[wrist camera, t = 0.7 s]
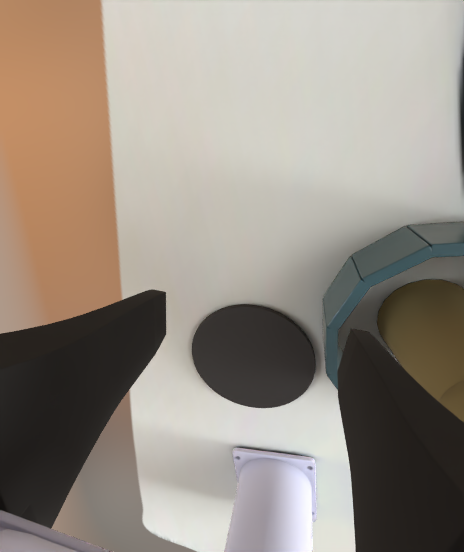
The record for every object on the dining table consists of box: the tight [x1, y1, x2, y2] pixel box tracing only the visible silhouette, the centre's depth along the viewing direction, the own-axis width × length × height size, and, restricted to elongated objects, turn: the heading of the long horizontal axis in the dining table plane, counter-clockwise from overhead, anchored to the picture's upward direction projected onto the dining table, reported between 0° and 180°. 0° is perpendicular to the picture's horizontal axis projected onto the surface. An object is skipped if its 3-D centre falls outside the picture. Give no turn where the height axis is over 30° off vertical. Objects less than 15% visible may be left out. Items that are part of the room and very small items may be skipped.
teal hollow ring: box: [323, 222, 464, 390], centre depth 18 cm, size 13×13×4 cm
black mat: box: [192, 304, 315, 408], centre depth 24 cm, size 10×10×1 cm
